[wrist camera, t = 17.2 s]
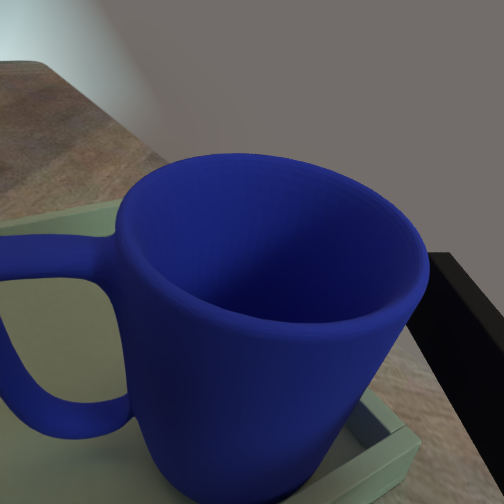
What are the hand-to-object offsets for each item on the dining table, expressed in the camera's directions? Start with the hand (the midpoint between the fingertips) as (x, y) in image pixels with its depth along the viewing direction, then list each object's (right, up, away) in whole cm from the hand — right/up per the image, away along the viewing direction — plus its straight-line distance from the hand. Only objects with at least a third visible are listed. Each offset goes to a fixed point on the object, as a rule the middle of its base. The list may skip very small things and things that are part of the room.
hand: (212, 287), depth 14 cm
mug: (-1, -6, +4) cm, 7 cm away
